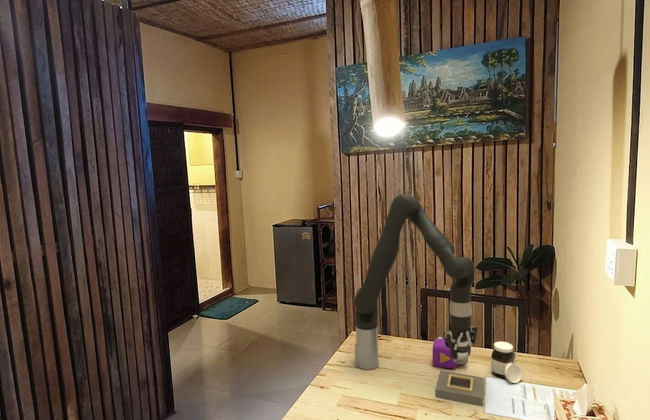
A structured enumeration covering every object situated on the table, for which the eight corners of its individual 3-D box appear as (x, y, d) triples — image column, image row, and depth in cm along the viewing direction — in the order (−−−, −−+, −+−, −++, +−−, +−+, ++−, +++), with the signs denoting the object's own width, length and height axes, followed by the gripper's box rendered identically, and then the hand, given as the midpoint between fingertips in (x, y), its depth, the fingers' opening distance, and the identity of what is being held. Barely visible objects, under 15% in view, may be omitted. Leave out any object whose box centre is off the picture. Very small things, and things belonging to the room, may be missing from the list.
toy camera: (468, 371, 160) (468, 348, 158) (433, 369, 162) (433, 346, 161) (464, 358, 170) (464, 336, 169) (431, 356, 173) (431, 334, 172)
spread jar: (498, 365, 164) (498, 338, 162) (527, 374, 156) (528, 346, 154) (485, 376, 156) (486, 348, 154) (515, 387, 147) (516, 358, 146)
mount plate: (435, 397, 143) (435, 387, 143) (440, 377, 156) (440, 369, 156) (482, 406, 137) (482, 396, 137) (484, 385, 150) (484, 376, 149)
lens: (452, 363, 144) (452, 341, 143) (453, 356, 149) (453, 335, 148) (468, 365, 142) (468, 343, 141) (468, 358, 147) (468, 337, 146)
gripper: (451, 319, 137) (451, 365, 139) (483, 312, 142) (483, 356, 144) (437, 312, 144) (438, 356, 146) (468, 305, 149) (468, 348, 151)
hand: (460, 356), depth 145 cm, fingers closed on lens, 5 cm apart
